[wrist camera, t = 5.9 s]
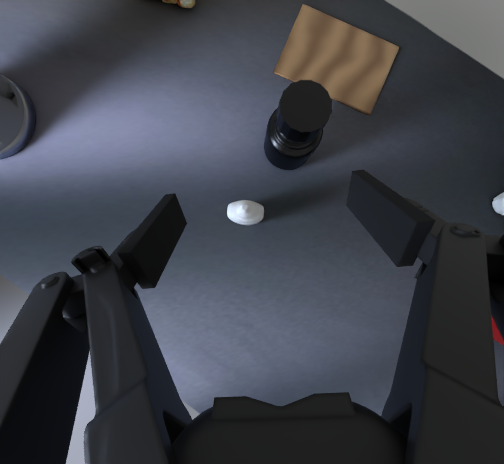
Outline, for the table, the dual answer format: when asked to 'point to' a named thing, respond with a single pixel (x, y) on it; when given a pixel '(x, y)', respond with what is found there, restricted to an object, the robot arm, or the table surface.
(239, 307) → the table surface
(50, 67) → the table surface
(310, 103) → the ink bottle
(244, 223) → the eye dropper bottle
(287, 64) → the wooden board
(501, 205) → the photo printer
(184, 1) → the croissant
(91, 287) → the robot arm
